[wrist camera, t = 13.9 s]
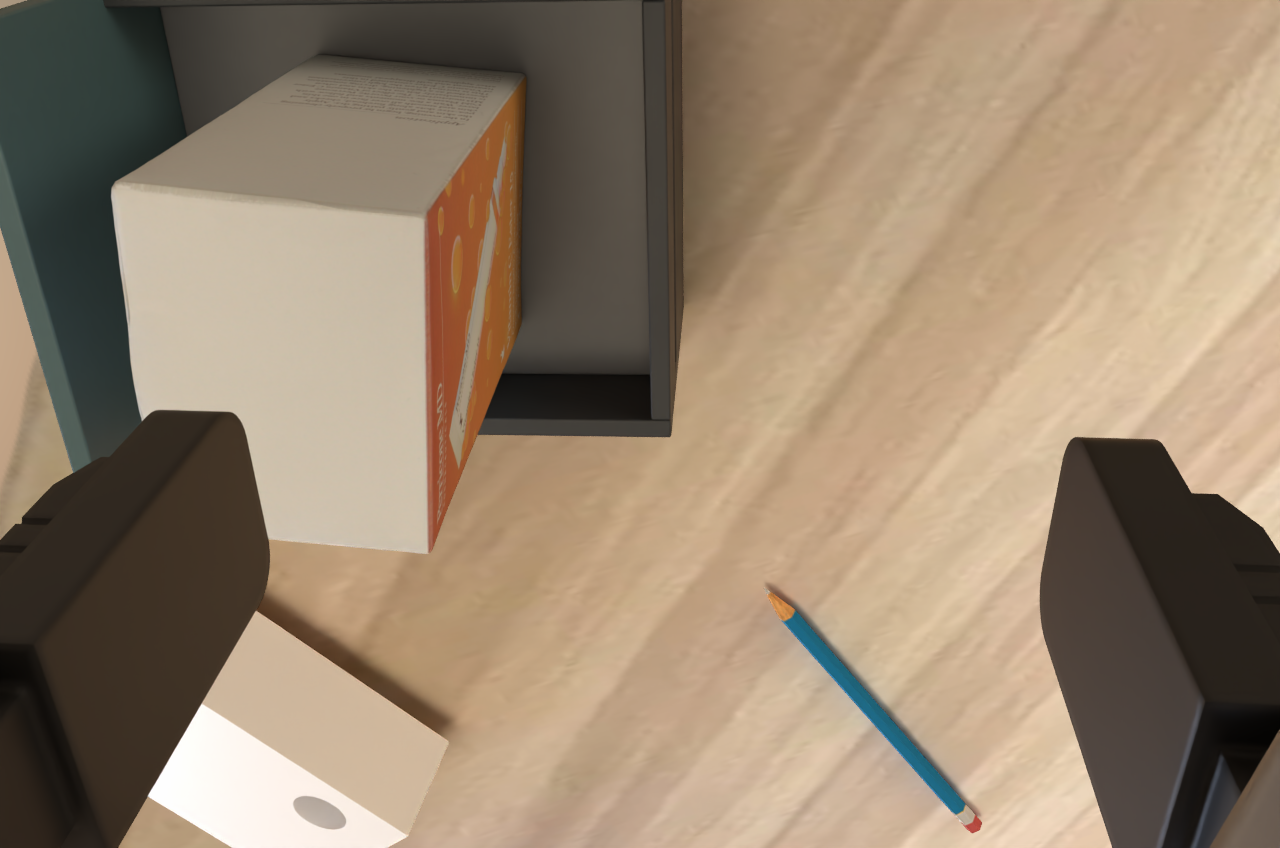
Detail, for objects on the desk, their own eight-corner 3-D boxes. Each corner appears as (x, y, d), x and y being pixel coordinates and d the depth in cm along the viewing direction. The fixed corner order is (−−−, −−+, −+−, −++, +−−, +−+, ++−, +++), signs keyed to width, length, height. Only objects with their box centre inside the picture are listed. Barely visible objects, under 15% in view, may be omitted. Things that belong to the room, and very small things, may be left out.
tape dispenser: (37, 603, 55) (-124, 795, 47) (109, 511, 49) (-61, 713, 41) (348, 803, 60) (249, 1007, 52) (449, 741, 54) (353, 961, 46)
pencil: (966, 824, 56) (968, 835, 55) (756, 586, 50) (756, 596, 49) (981, 817, 56) (983, 829, 55) (771, 578, 50) (771, 588, 49)
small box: (525, 326, 37) (433, 565, 26) (328, 306, 38) (150, 536, 26) (532, 66, 33) (428, 213, 22) (312, 46, 34) (95, 182, 22)
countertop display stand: (681, -70, 38) (650, 17, 24) (683, 308, 44) (660, 552, 30) (224, -62, 39) (-62, 26, 25) (290, 305, 45) (91, 540, 31)
